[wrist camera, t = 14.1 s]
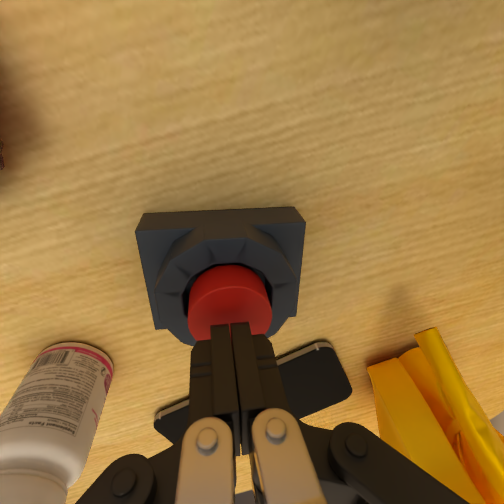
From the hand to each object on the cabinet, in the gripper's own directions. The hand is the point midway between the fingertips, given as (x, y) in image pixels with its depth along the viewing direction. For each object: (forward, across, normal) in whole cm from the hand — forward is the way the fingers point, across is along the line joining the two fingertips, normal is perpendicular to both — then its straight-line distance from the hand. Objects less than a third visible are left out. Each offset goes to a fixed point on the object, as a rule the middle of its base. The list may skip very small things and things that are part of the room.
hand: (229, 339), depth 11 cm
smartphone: (+6, -2, +14) cm, 15 cm away
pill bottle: (+7, +10, +8) cm, 14 cm away
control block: (+6, 0, 0) cm, 6 cm away
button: (+3, 0, 0) cm, 3 cm away
